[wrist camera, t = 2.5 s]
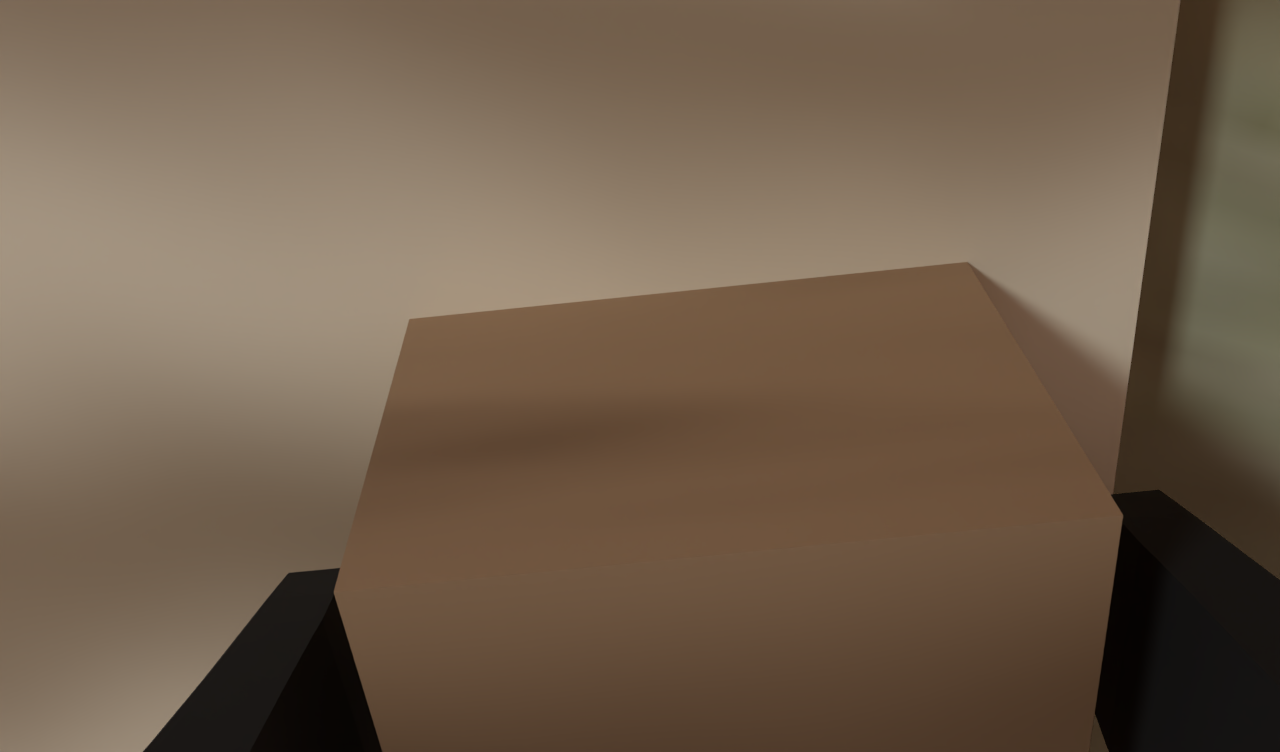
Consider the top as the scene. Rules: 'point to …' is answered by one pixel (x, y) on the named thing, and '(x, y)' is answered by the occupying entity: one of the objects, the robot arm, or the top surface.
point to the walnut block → (730, 529)
